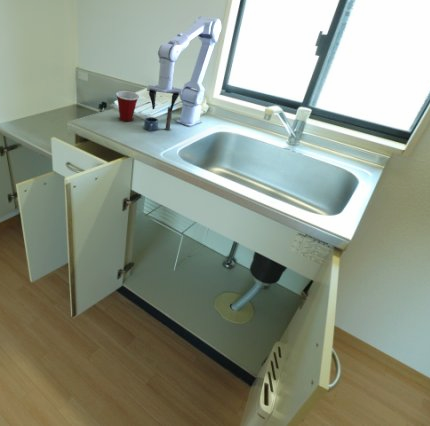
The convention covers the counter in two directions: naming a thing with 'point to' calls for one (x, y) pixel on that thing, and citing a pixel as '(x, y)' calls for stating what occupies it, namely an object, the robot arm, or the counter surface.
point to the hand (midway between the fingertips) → (162, 109)
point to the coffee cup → (151, 123)
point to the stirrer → (168, 119)
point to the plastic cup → (126, 104)
